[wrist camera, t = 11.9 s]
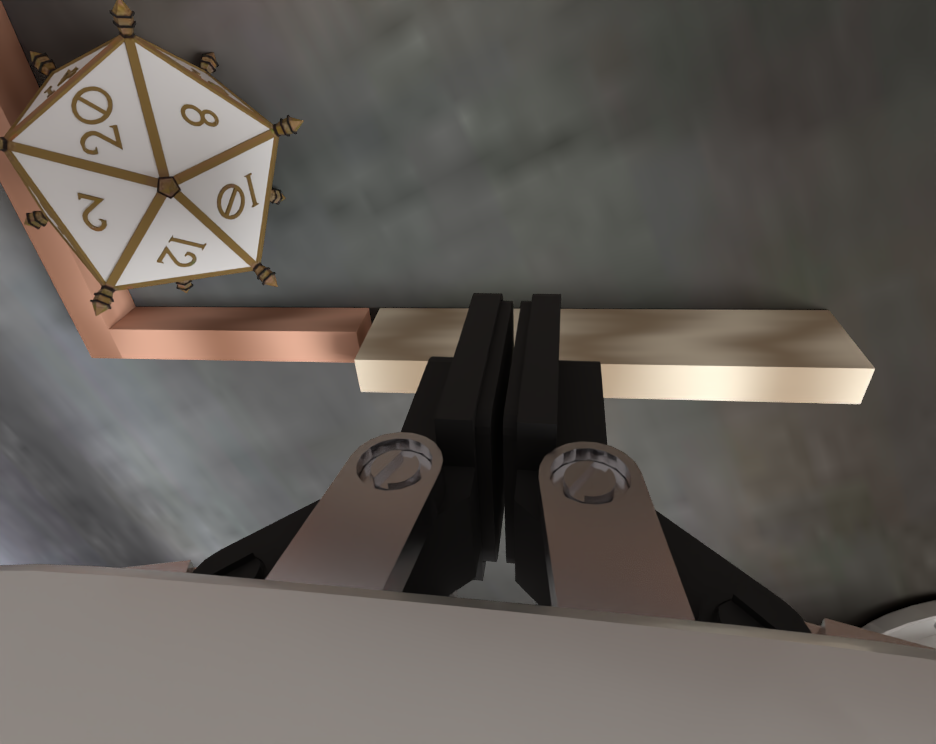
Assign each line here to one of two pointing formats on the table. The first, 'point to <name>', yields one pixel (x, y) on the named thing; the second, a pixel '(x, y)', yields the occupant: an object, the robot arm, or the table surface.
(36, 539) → the table surface
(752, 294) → the table surface
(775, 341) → the chute
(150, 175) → the game die
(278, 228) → the table surface
